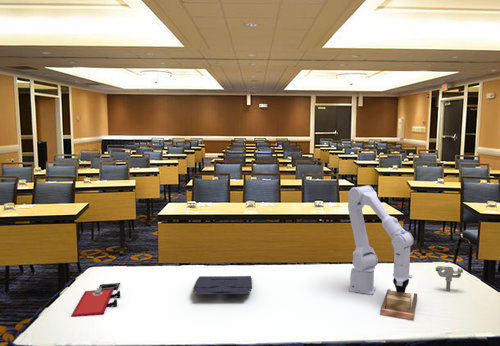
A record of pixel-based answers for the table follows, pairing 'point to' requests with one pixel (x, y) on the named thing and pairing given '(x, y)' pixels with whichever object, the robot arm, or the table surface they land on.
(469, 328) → the table surface
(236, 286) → the dark grey flat slab
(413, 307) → the bay
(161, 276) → the table surface
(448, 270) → the mechanical component
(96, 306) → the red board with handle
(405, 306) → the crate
